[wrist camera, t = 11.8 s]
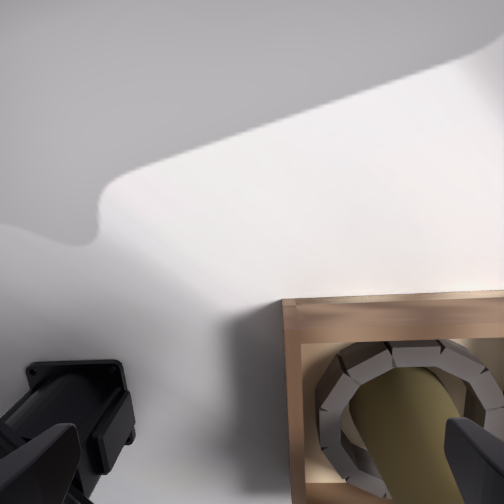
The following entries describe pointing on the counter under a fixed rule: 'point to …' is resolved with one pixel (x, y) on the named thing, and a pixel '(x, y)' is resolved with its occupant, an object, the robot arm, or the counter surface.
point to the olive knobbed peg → (407, 434)
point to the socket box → (374, 364)
